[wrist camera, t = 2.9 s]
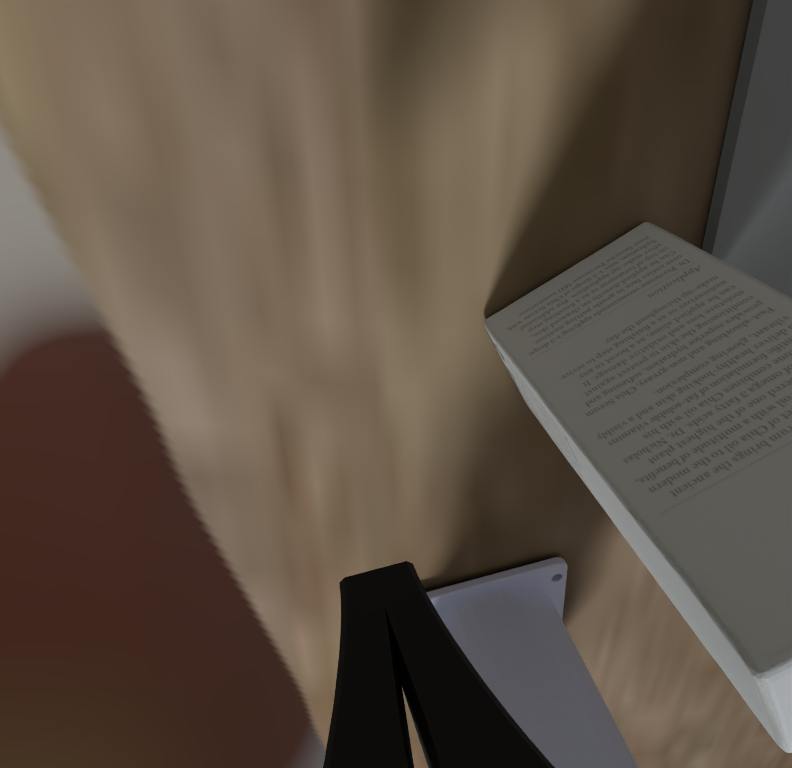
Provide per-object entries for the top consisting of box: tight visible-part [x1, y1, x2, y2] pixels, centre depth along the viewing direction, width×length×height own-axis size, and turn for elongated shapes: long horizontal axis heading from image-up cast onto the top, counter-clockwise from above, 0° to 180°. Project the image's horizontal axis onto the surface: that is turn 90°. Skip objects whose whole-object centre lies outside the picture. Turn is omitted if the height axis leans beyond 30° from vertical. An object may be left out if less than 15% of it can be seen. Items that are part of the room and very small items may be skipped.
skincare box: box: [484, 222, 792, 753], centre depth 14 cm, size 6×4×12 cm
